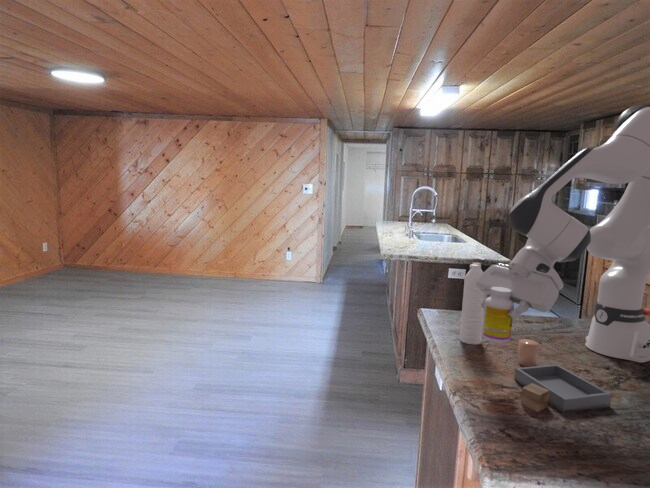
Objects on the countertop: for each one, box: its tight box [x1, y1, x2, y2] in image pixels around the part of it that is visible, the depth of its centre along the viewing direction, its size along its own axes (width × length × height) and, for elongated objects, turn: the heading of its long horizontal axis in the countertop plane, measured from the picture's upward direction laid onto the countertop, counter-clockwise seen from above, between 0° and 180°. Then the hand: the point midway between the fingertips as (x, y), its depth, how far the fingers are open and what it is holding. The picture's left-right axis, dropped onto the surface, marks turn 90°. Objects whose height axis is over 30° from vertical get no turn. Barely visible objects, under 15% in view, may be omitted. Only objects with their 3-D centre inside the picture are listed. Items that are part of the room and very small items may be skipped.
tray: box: [514, 363, 612, 413], centre depth 103 cm, size 13×16×3 cm
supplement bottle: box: [482, 287, 515, 344], centre depth 106 cm, size 7×7×13 cm
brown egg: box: [516, 338, 540, 367], centre depth 119 cm, size 5×5×6 cm
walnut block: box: [520, 383, 549, 413], centre depth 97 cm, size 4×4×4 cm
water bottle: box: [459, 262, 484, 345], centre depth 133 cm, size 9×6×25 cm
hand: (496, 312), depth 106 cm, fingers closed on supplement bottle, 7 cm apart
